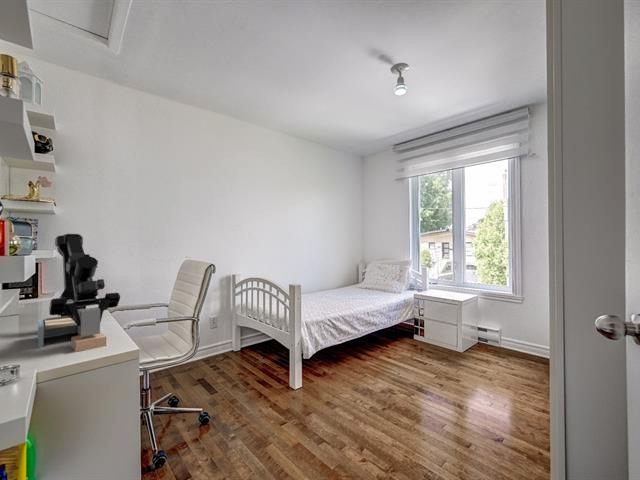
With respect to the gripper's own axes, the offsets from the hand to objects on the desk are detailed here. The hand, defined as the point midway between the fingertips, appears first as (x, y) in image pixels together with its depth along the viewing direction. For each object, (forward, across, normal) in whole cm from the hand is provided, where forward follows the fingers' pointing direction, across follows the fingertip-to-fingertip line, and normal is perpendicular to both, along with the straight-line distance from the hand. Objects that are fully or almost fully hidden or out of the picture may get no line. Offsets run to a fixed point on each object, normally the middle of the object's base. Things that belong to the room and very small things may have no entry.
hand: (90, 323), depth 98 cm
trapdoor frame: (-7, -3, +18) cm, 20 cm away
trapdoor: (-11, -3, +14) cm, 18 cm away
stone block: (+5, 0, +6) cm, 8 cm away
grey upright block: (+2, 0, +4) cm, 4 cm away
